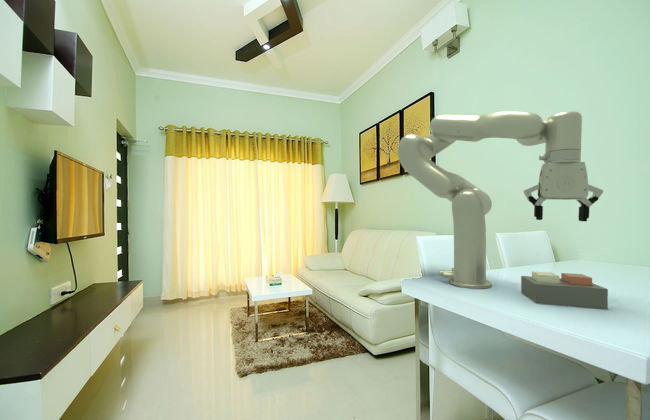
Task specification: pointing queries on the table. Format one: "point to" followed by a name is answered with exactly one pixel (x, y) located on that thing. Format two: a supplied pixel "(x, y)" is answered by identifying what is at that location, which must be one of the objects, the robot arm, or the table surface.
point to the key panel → (565, 294)
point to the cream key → (545, 277)
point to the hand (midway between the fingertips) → (560, 220)
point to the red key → (576, 279)
